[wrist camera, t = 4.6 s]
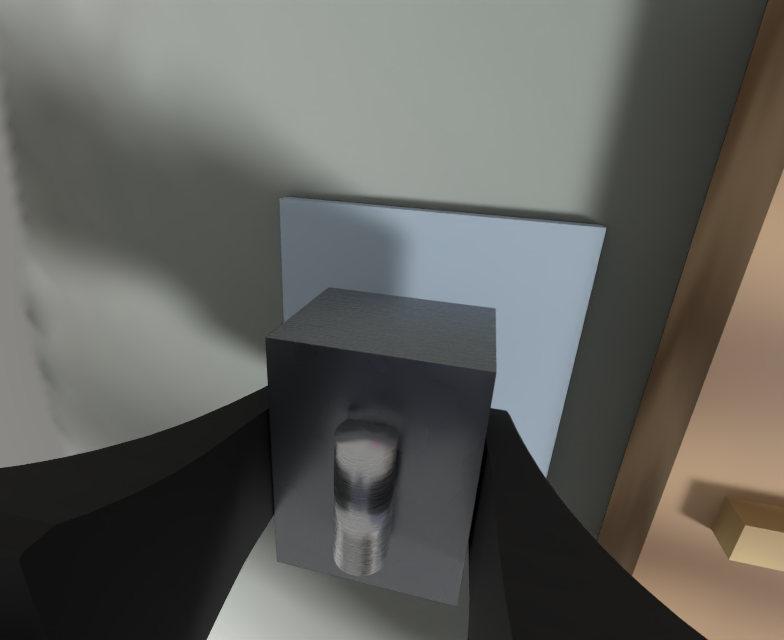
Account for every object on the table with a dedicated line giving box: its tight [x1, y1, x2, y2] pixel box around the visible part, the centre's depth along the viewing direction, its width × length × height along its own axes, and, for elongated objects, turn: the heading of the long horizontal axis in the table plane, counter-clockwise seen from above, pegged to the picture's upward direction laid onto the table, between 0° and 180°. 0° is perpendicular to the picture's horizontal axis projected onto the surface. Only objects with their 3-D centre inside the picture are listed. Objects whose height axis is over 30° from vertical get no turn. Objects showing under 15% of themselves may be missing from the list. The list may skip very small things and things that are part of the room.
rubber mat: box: [279, 197, 606, 478], centre depth 15 cm, size 10×10×1 cm
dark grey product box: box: [266, 287, 497, 606], centre depth 10 cm, size 6×4×4 cm
